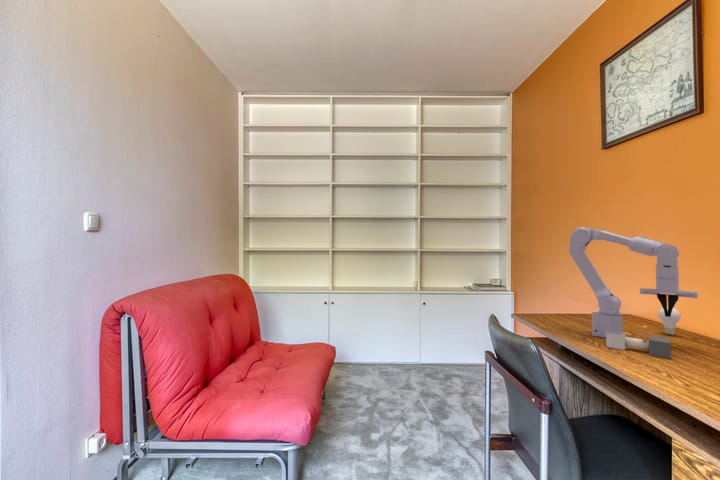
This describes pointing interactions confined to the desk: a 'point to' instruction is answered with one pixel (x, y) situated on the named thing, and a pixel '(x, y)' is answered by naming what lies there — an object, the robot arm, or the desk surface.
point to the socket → (659, 347)
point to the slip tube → (638, 341)
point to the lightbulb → (669, 320)
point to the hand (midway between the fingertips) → (667, 316)
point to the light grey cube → (615, 339)
